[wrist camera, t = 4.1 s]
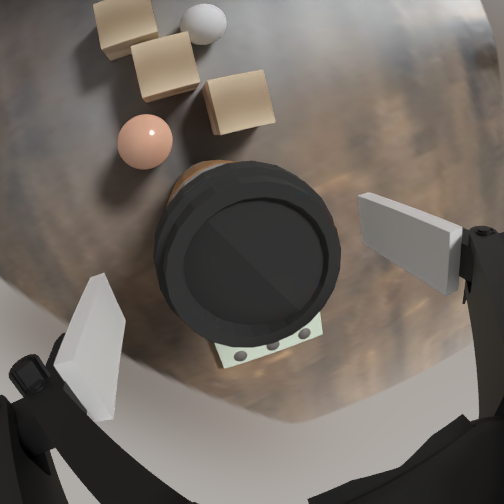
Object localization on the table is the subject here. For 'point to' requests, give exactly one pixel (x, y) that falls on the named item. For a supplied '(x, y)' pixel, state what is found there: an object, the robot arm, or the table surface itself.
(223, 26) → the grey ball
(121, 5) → the maple cube
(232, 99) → the maple cube
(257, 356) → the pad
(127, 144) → the pink rounded piece
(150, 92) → the maple cube
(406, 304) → the table surface
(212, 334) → the coffee cup
